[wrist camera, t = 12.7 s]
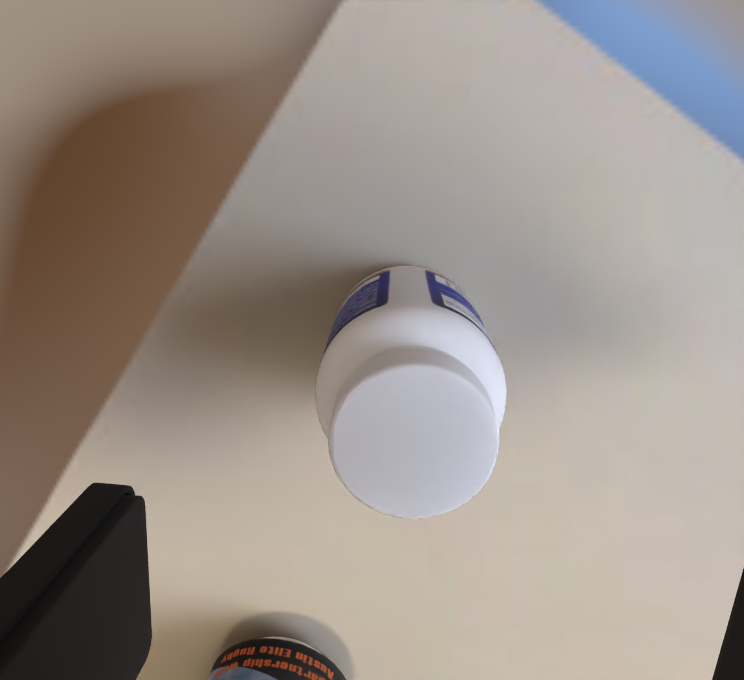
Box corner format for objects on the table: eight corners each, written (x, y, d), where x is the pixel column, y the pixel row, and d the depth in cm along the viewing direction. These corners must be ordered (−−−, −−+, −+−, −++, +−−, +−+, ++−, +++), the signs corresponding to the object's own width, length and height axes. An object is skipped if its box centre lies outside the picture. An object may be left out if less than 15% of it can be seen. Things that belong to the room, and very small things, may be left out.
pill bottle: (342, 404, 24) (308, 548, 15) (328, 268, 22) (283, 343, 14) (482, 397, 23) (528, 540, 15) (479, 258, 22) (527, 329, 13)
